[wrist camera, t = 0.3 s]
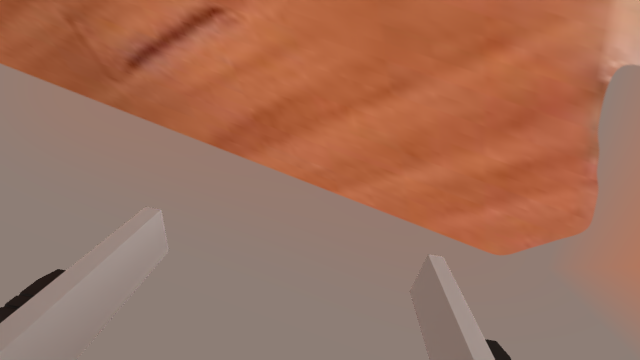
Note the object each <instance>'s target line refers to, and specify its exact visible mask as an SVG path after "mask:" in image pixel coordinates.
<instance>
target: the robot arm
mask: <svg viewBox="0 0 640 360" xmlns="http://www.w3.org/2000/svg"><path fill="white" fill-rule="evenodd" d="M168 251H169V249H168V243H167V238H166V232H165V227H164V221H163V217H162V211H161V209H156V208H151V207H144V208H143V209H142V210H141V211H140V212H138V213H137V214H136V215H134V216H133V217H132V218H131V219H129V220H128V221H127V222H126V223H125V224H123V225H122V226H121V227H119V228H118V229H117V230H116V231H114V232H113V233H112V234H111V235H109V236H108V237H107V238H106V239H105V240H103V241H102V242H101V243H100V244H98V245H97V246H96V247H95V248H93V249H92V250H91V251H90V252H88V253H87V254H86V255H85V256H83V257H82V258H81V259H80V260H78V261H77V262H76V263H75V264H73V265H72V266H71V267H70V268H68V269H67V270H60V269H57V270H55V271H54V272H52V273H50V274H48V275H46V276H44V277H42V278H40V279H38V280H36V281H35V282H34V283H33V284H31V285H30V286H29V287H27V288H26V289H25V290H23V291H22V292H21V293H20V295H19V296H16V297H14V298H13V299H12V300H10V301H9V302H7V303H6V304H5V306H4V307H1V308H0V360H77V358H78V357H79V356H80V355H81V354H82V353H83V352H84V350H85V349H86V348H87V347H88V345H89V344H90V343H91V342H92V341H93V340H94V339H95V337H96V336H97V335H98V334H99V333H100V331H101V330H102V329H103V328H104V327H105V326H106V325H107V323H108V322H109V321H110V320H111V319H112V317H113V316H114V315H115V314H116V313H117V312H118V310H119V309H120V308H121V307H122V306H123V305H124V303H125V302H126V301H127V300H128V299H129V297H130V296H131V295H132V294H133V293H134V292H135V290H136V289H137V288H138V287H139V286H140V284H141V283H142V282H143V281H144V280H145V278H147V276H148V275H149V274H150V273H151V272H152V270H153V269H154V268H155V267H156V266H157V265H158V263H159V262H160V261H161V260H162V259H163V258H164V256H165V255H166V254H167V253H168ZM410 294H411V297H412V301H413V304H414V307H415V311H416V315H417V318H418V321H419V325H420V328H421V332H422V335H423V339H424V342H425V346H426V349H427V352H428V356H429V359H430V360H511V358H510V357H509V355H508V354H507V353H506V352H505V351H504V350H503V348H502V347H501V346H500V345H499V344H498V343H497V342H496V341H492V340H486V339H484V337H483V335H482V333H481V331H480V329H479V327H478V325H477V323H476V321H475V319H474V317H473V315H472V313H471V311H470V309H469V307H468V305H467V303H466V301H465V299H464V297H463V295H462V293H461V291H460V289H459V287H458V285H457V283H456V281H455V279H454V277H453V275H452V273H451V271H450V269H449V267H448V265H447V263H446V261H445V259H444V257H441V256H435V255H430V254H428V256H427V258H426V260H425V262H424V264H423V266H422V268H421V270H420V272H419V274H418V276H417V278H416V280H415V282H414V284H413V286H412V288H411V290H410Z"/></svg>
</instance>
